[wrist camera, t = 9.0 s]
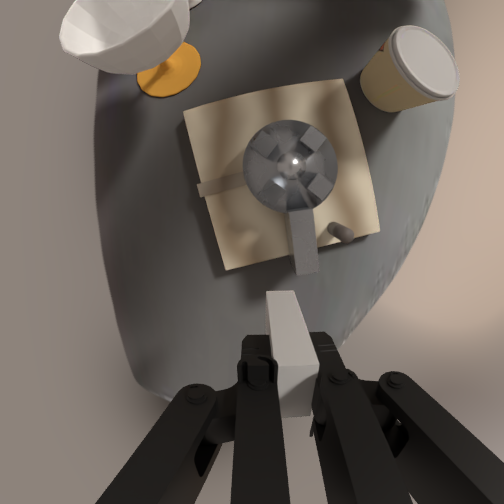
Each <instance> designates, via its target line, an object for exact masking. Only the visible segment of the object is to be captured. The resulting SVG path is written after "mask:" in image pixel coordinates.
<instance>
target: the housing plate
mask: <svg viewBox="0 0 504 504" xmlns="http://www.w3.org/2000/svg"><path fill="white" fill-rule="evenodd" d="M183 114H184V118H185V122H186V126H187V130H188V134H189V138H190V142H191V146H192V150H193V154H194V158H195V161H196V165H197V169H198V173H199V177H200V180H201V183H200V184H197V187H198V191H199V194H200V198H201V197H204V196H205V199H206V203H207V206H208V210H209V213H210V217H211V221H212V224H213V228H214V231H215V235H216V238H217V242H218V245H219V249H220V252H221V256H222V259H223V262H224V266H225V269H226V270H230V269H234V268H238V267H242V266H246V265H250V264H254V263H258V262H262V261H266V260H270V259H274V258H278V257H282V256H286V255H289V249H288V241H287V233H286V225H285V218H284V213H281V212H277V211H274V210H272V209H270V208H268V207H266V206H265V205H263V204H262V203H260V202H259V201H258V200H257V199H256V198H255V197H254V196H253V194H252V193H251V191H250V190H249V188H248V186H247V184H246V181H245V179H244V174H243V156H244V152H245V149H246V147H247V145H248V143H249V141H250V140H251V138H252V137H253V136H254V135H255V133H256V132H258V131H259V130H260V129H261V128H263V127H264V126H266V125H268V124H270V123H273V122H276V121H281V120H297V121H301V122H305V123H307V124H310V125H312V126H313V127H315V128H316V129H318V130H319V131H320V132H322V133H323V134H324V135H325V136H326V137H327V139H328V140H329V142H330V143H331V145H332V147H333V149H334V151H335V154H336V158H337V164H338V174H337V179H336V182H335V185H334V187H333V190H332V191H331V193H330V194H329V196H328V197H327V198H326V199H325V200H324V201H323V202H322V203H321V204H320V205H318V206H317V207H315V208H313V213H314V222H315V231H316V240H317V248H318V247H322V246H326V245H329V244H333V243H337V242H341V241H342V242H343V243H346V244H348V243H350V242H352V241H353V239H354V238H357V237H360V236H364V235H368V234H372V233H376V232H379V231H380V227H379V220H378V214H377V208H376V202H375V197H374V191H373V186H372V181H371V176H370V172H369V167H368V163H367V159H366V154H365V150H364V146H363V143H362V139H361V135H360V131H359V128H358V124H357V121H356V117H355V114H354V111H353V108H352V104H351V101H350V98H349V95H348V92H347V89H346V86H345V84H344V81H343V79H335V80H324V81H316V82H308V83H300V84H294V85H288V86H282V87H276V88H271V89H266V90H261V91H256V92H251V93H247V94H243V95H239V96H234V97H231V98H227V99H223V100H219V101H216V102H212V103H209V104H205V105H202V106H199V107H195V108H192V109H189V110H186V111H183Z"/></svg>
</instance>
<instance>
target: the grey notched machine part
mask: <svg viewBox="0 0 504 504" xmlns="http://www.w3.org/2000/svg"><path fill="white" fill-rule="evenodd" d="M243 174H244V179H245V181H246V184H247V186H248V188H249V190H250V191H251V193H252V194H253V196H254V197H255V198H256V199H257V200H258V201H259V202H260V203H262V204H263V205H265V206H266V207H268V208H270V209H272V210H274V211H277V212H281V213H284V218H285V225H286V233H287V241H288V249H289V257H290V263H291V265H292V267H293V269H294V271H295V273H296V275H297V276H298V275H304V274H310V273H317V272H319V261H318V250H317V240H316V231H315V222H314V213H313V208H315V207H317V206H318V205H320V204H321V203H322V202H323V201H324V200H325V199H326V198H327V197H328V196H329V194H330V193H331V191H332V190H333V187H334V185H335V182H336V179H337V174H338V164H337V158H336V154H335V151H334V149H333V147H332V145H331V143H330V142H329V140H328V139H327V137H326V136H325V135H324V134H323V133H322V132H320V131H319V130H318V129H316V128H315V127H313V126H312V125H310V124H307V123H305V122H301V121H297V120H281V121H276V122H273V123H270V124H268V125H266V126H264V127H263V128H261V129H260V130H259V131H258V132H256V133H255V135H254V136H253V137H252V138H251V140H250V141H249V143H248V145H247V147H246V149H245V152H244V156H243Z"/></svg>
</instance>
